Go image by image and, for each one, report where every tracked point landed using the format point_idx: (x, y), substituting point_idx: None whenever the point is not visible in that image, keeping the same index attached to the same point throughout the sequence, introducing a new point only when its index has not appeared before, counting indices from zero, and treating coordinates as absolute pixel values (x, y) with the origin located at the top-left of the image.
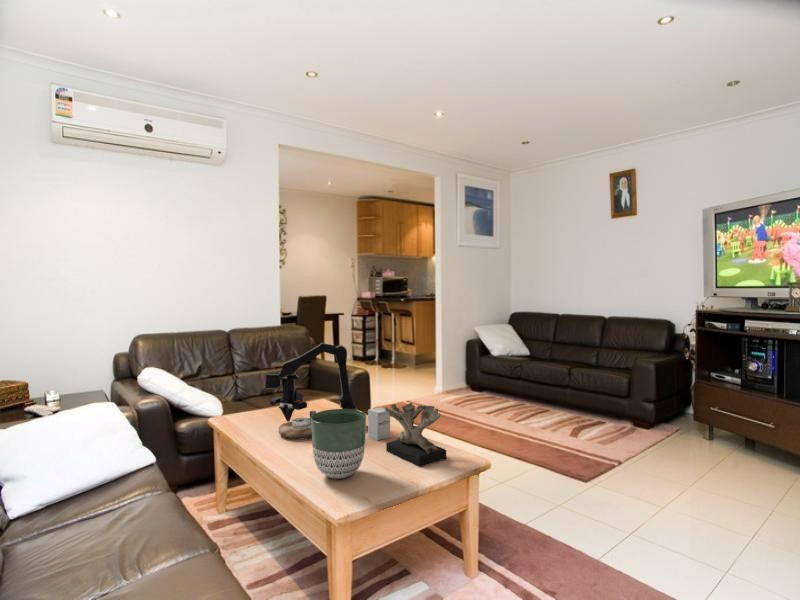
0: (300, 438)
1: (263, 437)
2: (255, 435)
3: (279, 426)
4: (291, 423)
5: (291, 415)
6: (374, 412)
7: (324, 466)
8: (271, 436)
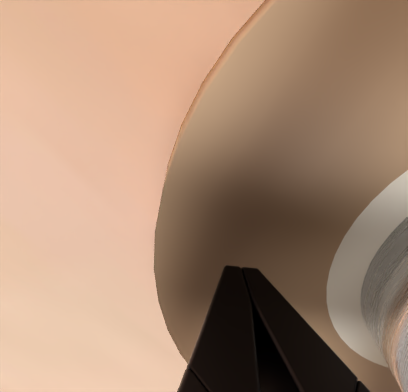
0: None
1: (126, 385)
2: (24, 376)
3: (188, 361)
4: (271, 219)
5: (333, 362)
6: None
7: None
8: (169, 355)
